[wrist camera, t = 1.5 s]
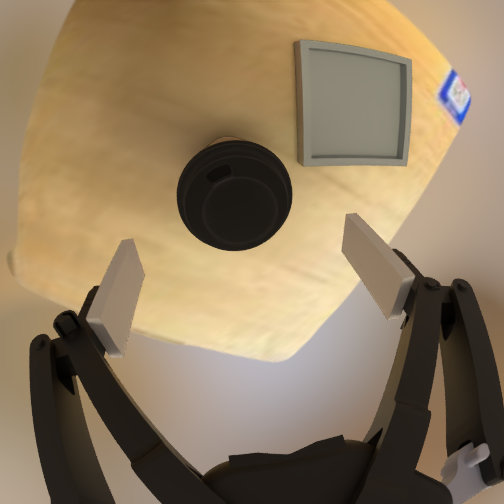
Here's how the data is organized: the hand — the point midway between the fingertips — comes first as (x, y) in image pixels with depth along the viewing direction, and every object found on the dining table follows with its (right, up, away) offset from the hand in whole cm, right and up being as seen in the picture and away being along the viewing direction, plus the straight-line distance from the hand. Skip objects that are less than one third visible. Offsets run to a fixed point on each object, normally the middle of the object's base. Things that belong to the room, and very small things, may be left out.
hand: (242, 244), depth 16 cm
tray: (+14, +19, +14) cm, 27 cm away
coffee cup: (-2, +11, +17) cm, 20 cm away
